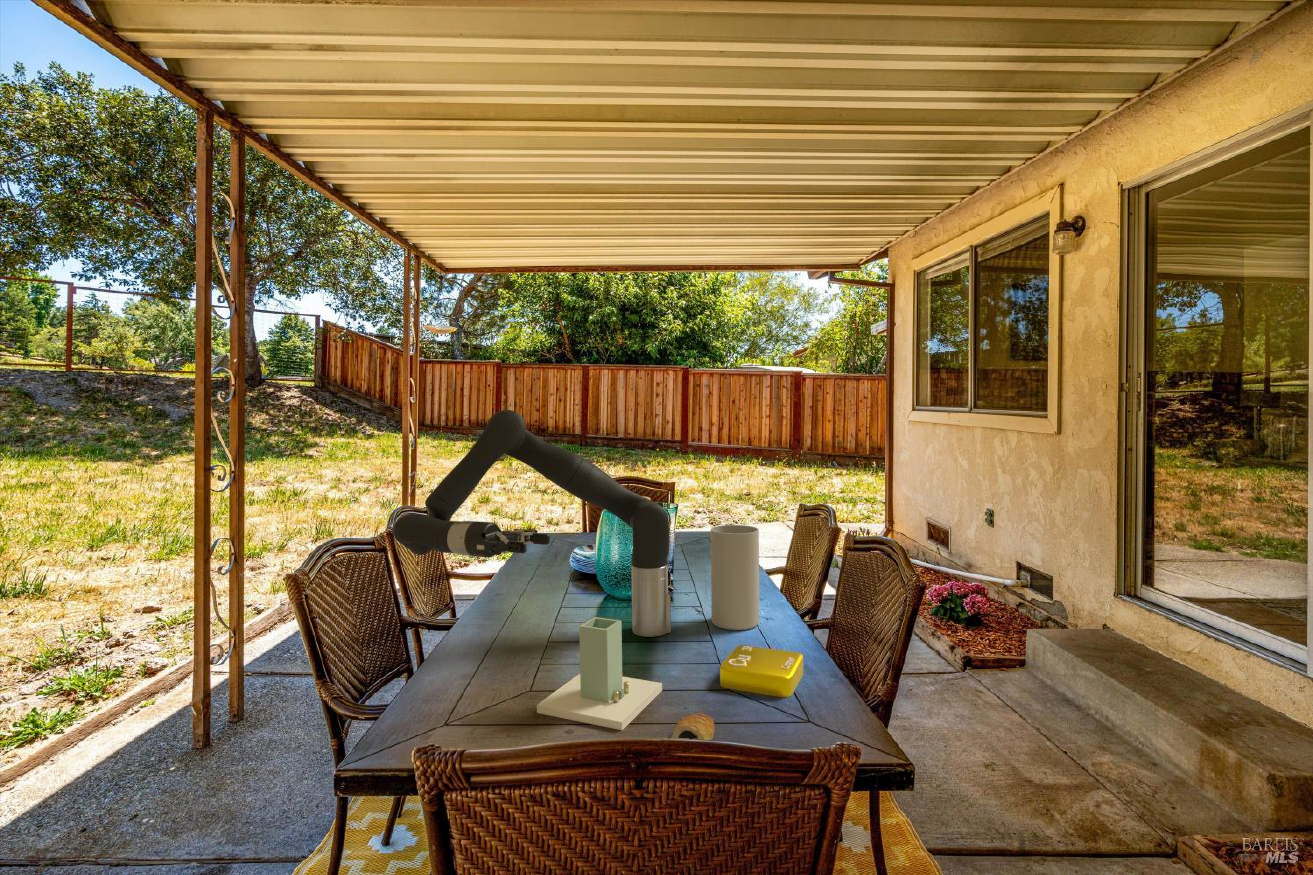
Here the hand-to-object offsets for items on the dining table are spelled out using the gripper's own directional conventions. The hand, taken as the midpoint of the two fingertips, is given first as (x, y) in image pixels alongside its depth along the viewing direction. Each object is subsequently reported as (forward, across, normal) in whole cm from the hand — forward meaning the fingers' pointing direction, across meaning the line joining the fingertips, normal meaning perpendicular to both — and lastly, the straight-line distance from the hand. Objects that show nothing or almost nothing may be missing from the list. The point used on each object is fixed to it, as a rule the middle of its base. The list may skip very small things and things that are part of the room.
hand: (537, 543), depth 139 cm
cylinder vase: (+26, +51, +30) cm, 65 cm away
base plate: (+16, -3, +30) cm, 34 cm away
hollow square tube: (+16, -3, +28) cm, 32 cm away
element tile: (+42, +19, +30) cm, 55 cm away
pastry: (+38, -10, +30) cm, 49 cm away
